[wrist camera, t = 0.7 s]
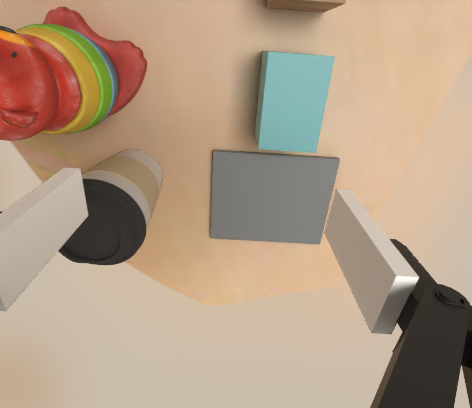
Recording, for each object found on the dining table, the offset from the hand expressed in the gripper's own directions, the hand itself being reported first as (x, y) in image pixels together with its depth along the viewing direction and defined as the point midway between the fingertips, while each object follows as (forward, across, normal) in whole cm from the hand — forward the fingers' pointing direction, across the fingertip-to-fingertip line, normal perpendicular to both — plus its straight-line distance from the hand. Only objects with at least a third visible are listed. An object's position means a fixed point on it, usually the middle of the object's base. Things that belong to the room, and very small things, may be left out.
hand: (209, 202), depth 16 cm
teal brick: (+23, +7, +3) cm, 24 cm away
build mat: (+23, +7, -11) cm, 26 cm away
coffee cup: (+23, -11, -9) cm, 27 cm away
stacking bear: (+23, -15, +3) cm, 28 cm away
